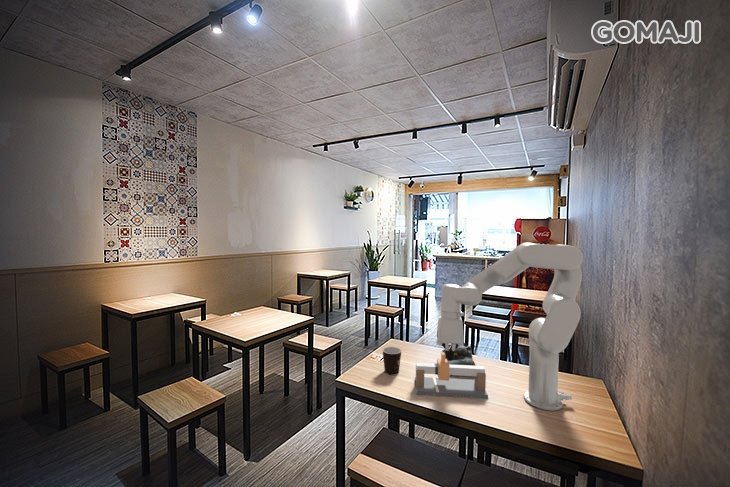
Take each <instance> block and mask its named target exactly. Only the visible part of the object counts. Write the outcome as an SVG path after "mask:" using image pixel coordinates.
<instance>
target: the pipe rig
mask: <svg viewBox="0 0 730 487" xmlns="http://www.w3.org/2000/svg"><path fill="white" fill-rule="evenodd" d="M425 374H427V375H437V376H438V374H439V366H438V364H437V362H436V363H425V362H416V363H415V377H414V382H415V389H416V390H415V391H416V395H418V396H433V397H434V396H435V397H437V396H438V397H453V398H468V399H469V398H472V399H486V400H487V399H489V394H488V392H487V390H486V385H487V382H486V380H487V378H486V377H487V374H486V369H485V366H483V365H476V366H472V365H450V364H449V376H463V377H464V376H466V377H468V376H469V377H474V379H463V378H449V381H447V380H439V379H438V377H426V376H425Z"/></svg>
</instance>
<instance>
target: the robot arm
mask: <svg viewBox="0 0 730 487" xmlns="http://www.w3.org/2000/svg"><path fill="white" fill-rule="evenodd" d="M583 261H584V255H583V252H582V251H581V249H580V248H578V247H576V246H573V245H569V244H559V243H558V244H544V243H542V244H541V243H536V242H535V243H532V242H523V243H521V244H519V245H517V246H516V247H514V248H513V249H512V250H510V251H509V252H508V253H507V254H504V256H502V257H501V258H500V259H498V260H497V261H495V262H494V263H493V264H491V265H489V266H488V267H487V268H485V269H484V270H482V271H481V272H479V273H477V274H476V275H475V276H473V277H471V279H469V280H468V281H467V282H466V283H464V284H463V285H462V286H460V285H458V284H456V283H455V284H454V283H446V284H443V285H442V286H441V300H440V301H441V303H440V304H441V307H440V308H441V309H440V310H441V312H440V316H438V320H437V325H436V326H437V327H436V345H437V346H441V347H442V348H444V349H446V358H447V359H448V361H450V360H451V361H452V358H454V351H455V349H456V348H457V347H460V346H464V344H463V342H464V335H465V334H464V325H463V323H464V322H463V320H462V317H464V316H465V313H464V311H463V312H462V311H461V307H462V306H461V305H467V306H470V307H471V306H472V307H473V306H477V305H478V304H480V303H481V302H482V299H483V297H482V296H483V294H484V293H485V292H487V291H489V290H490V289H491V288H493V287H495V286H498V285H502V284H505V283H509V282H510V281H512V280H513V279H515V277H517V276H518V275H520V274H521V273H523V272H524V271H526V270H527V269H529V268H535V269H537V268H538V269H549V270H553V271H554V274H553V275H554V276H553V279H552V282H551V284H550V286H549V289H548V291H547V292H546V295H545V297H544V299H543V300H542V308H543V309H542V310H543V311H544V313H545V314H546V317H536V318H535V319H533V320H532V321H531V323H530V324H529V326H528V341H529V361H528V363H529V364H528V390H527V391H525V392H524V393H523V398H524V400H525V402H526V403H527V404H528V405H531V406H533V407H535V408H538V409H541V410H545V411H551V412H552V411H553V412H554V411H560V410H561V409H562V408H563V400H564V401H572V400H573V399H572V395H571V394H568V393H566V394H565V393H564V391H558V390H559V389H558V388H559V363H560V362H559V361H560V360H559V358H560V357H559V356H560V355H559V353H561V352H563V351H564V350H565V349H566V348H567V347H568V345H569V343H570V341H571V339H572V338H573V335H574V333H575V330H576V329H577V327H578V325H579V323H580V320H581V315H582V311H581V307H580V306H579V304H578V302H576V301H575V300H576V298H577V295H578V293H579V290H580V287H581V284H582V280H583V274H582V273H583V272H582V269H581V265H582V264H583ZM448 345H451V348H450V349H449V346H448Z"/></svg>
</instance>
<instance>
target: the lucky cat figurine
mask: <svg viewBox="0 0 730 487" xmlns="http://www.w3.org/2000/svg"><path fill="white" fill-rule="evenodd" d="M463 344H464V346H460V347H457V348H456V349H455V351H454V358H452V361H451V360H450V361H448V359H447V358H446V349H445V348H444V349H443V350H442V351H441V352H444V353H445V359H447V361H448V363H449V364H450V365H472V366H477V365H476V362H475V361H474V358H473V352H472V347H471V346H470V345H467V344H466V342H464V341H463ZM448 346H449V349H450V348H451V344H448Z"/></svg>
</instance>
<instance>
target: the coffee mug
mask: <svg viewBox="0 0 730 487" xmlns="http://www.w3.org/2000/svg"><path fill="white" fill-rule="evenodd" d="M382 357H383V369H384V373H385V374H387V375H388V376H389V375H390V376H396V375H398V374H399V372H400V367H401V366H400V364H401V357H402V349H401V348H399V347H397V346H396V347H395V346H386V347H384V348H382Z"/></svg>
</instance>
